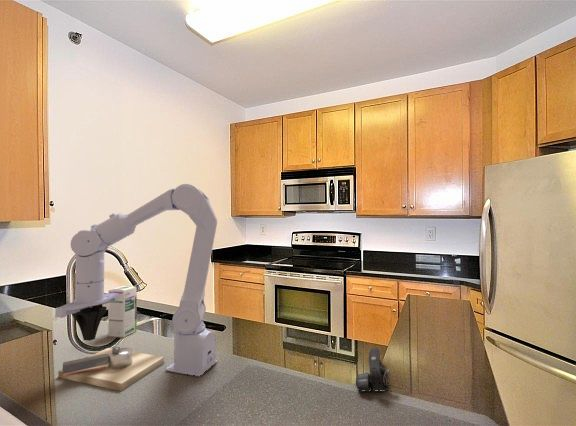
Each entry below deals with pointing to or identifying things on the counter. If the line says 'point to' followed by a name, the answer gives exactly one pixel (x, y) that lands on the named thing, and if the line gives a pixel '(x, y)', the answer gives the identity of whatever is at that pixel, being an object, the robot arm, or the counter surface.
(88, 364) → the grey bar with knob
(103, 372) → the cutting board
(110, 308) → the syrup box
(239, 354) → the counter surface
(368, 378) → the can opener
